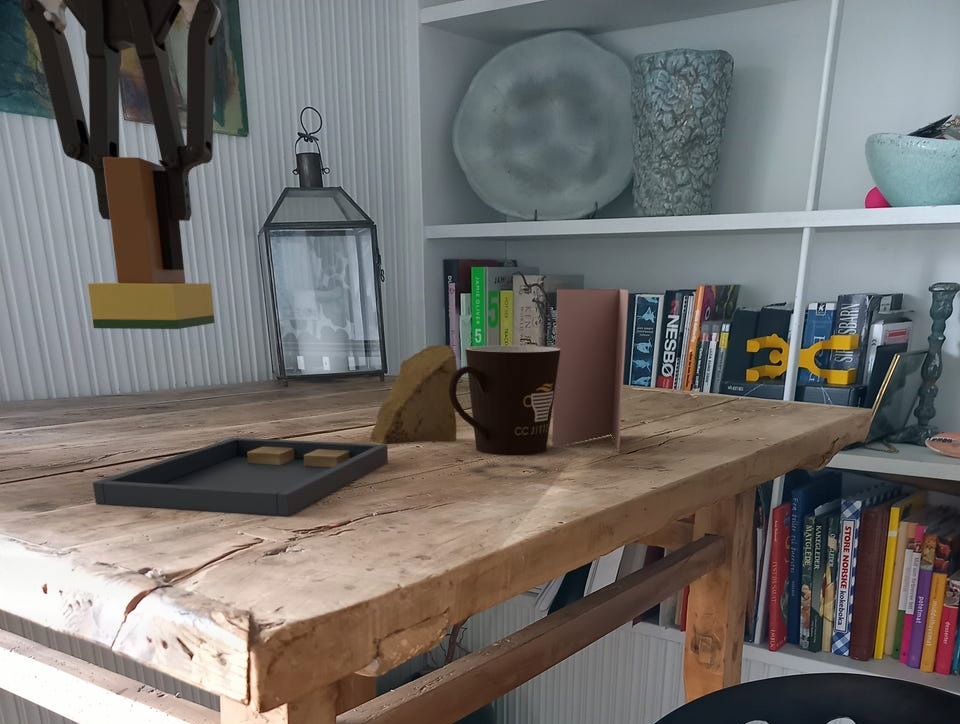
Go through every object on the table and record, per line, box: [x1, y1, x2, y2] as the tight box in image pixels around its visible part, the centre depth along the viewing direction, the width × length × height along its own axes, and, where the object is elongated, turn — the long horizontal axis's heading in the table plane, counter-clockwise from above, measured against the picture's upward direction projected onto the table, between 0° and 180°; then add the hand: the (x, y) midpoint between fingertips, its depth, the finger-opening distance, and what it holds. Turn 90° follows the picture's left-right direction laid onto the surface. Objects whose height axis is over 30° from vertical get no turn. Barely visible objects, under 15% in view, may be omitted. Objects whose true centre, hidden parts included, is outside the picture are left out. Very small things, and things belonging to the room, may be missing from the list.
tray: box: [92, 437, 389, 518], centre depth 73 cm, size 15×21×2 cm
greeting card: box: [551, 288, 630, 454], centre depth 94 cm, size 11×7×15 cm, turn 141°
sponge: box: [87, 156, 215, 330], centre depth 69 cm, size 10×6×11 cm, turn 0°
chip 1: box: [247, 447, 295, 465], centre depth 80 cm, size 3×3×1 cm
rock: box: [369, 344, 458, 445], centre depth 94 cm, size 11×9×10 cm
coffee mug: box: [449, 345, 561, 457], centre depth 86 cm, size 12×9×10 cm
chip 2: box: [304, 449, 350, 468], centre depth 79 cm, size 3×3×1 cm
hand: (151, 268), depth 69 cm, fingers closed on sponge, 2 cm apart
